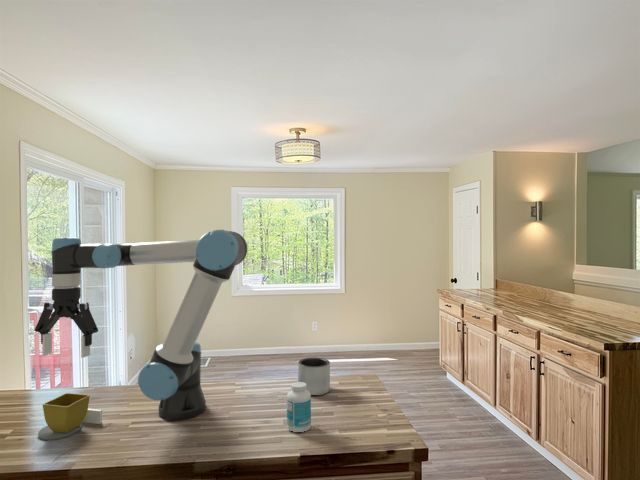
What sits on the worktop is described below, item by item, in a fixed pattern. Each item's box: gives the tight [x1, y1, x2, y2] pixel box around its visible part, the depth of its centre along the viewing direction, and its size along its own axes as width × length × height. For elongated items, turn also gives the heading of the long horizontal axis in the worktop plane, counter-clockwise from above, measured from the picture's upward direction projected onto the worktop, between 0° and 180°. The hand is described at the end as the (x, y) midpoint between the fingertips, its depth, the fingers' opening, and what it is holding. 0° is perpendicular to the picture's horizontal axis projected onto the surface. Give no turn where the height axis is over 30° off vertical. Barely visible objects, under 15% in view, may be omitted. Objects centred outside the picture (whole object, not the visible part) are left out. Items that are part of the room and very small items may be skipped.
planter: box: [297, 357, 331, 396], centre depth 151 cm, size 12×13×11 cm
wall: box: [82, 407, 103, 425], centre depth 124 cm, size 14×1×4 cm, turn 79°
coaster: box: [37, 422, 83, 441], centre depth 118 cm, size 11×11×1 cm
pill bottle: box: [286, 381, 312, 433], centre depth 121 cm, size 8×7×14 cm
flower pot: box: [42, 392, 91, 433], centre depth 117 cm, size 9×9×9 cm
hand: (66, 355), depth 121 cm, fingers open, 13 cm apart
